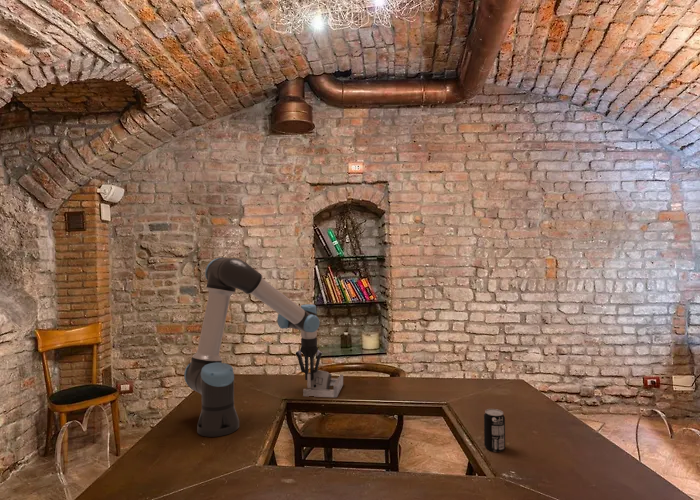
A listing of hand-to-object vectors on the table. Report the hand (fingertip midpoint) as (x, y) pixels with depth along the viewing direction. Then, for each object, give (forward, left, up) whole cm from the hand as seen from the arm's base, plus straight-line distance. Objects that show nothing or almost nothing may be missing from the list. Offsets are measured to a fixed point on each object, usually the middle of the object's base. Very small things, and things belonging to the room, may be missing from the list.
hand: (309, 386), depth 207 cm
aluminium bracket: (0, -6, -1) cm, 6 cm away
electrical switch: (0, -5, -2) cm, 6 cm away
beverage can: (-52, -75, -2) cm, 91 cm away
